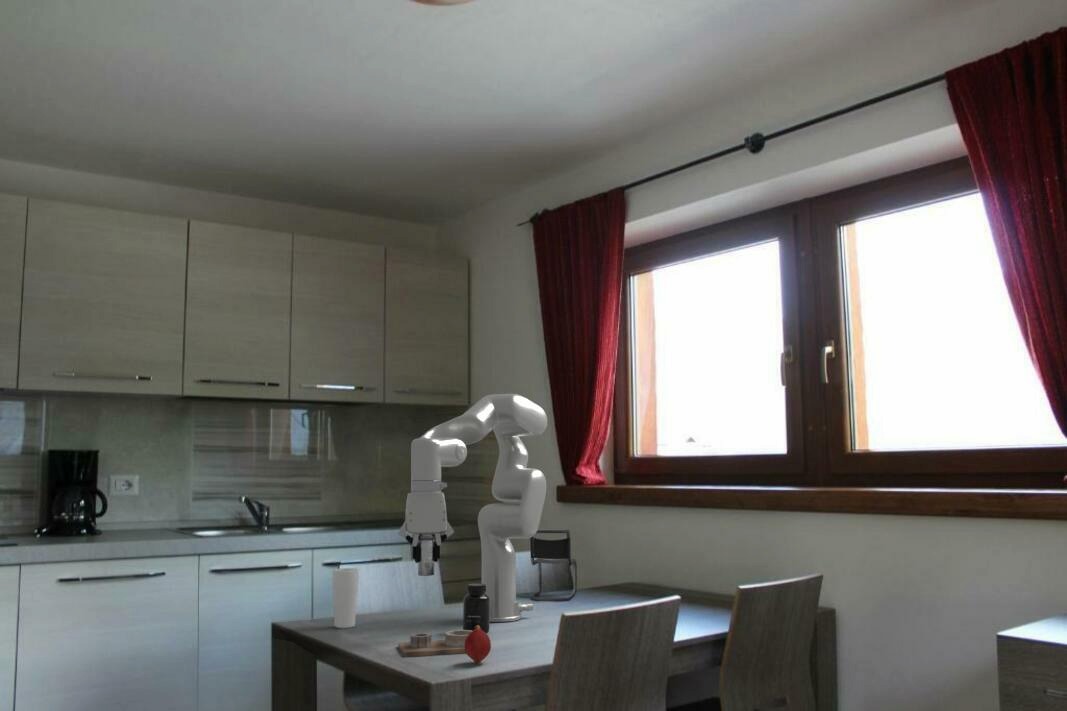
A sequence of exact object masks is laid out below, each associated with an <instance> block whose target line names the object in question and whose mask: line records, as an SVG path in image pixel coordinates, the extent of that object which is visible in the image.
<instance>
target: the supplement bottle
mask: <svg viewBox="0 0 1067 711" xmlns="http://www.w3.org/2000/svg"><path fill="white" fill-rule="evenodd" d="M466 592H467V594H466V595H465V596H464V597H463V602H462V604H463V606H462V609H463V610H462V630H471V631H473V630H474V629H475V627H476V626H480V628H481V630H483V631H484V632H485V633H486V634H488V633H489V632H490V623H491V622H490V599H489V597H488V596H487V595H486V594H485V592H486V584H482V583H469V584H467V590H466Z"/></svg>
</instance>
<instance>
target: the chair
mask: <svg viewBox="0 0 1067 711" xmlns="http://www.w3.org/2000/svg"><path fill="white" fill-rule="evenodd" d="M536 534H566V538H561V539H541V538H535V537H534V536H535V535H534V536H533V537H531V538H529V539H530V540H529V541H530V546H529V547H530V563H531V565H532V566H535V565H537V570H538V571H537V572H538V574H537V576H538V580H537V583H538V586H537V588H538V589H537V591H536V592H535V593H534V594H533V595H532V596H530V600H531V601H534V602H569V601H571V600H572V599H573V598H574V597H575V596H576V595H577V592H578V591H577V588H578V581H577V580H578V576H577V574H578V572H577V570H578V569H577V568H578V567H577V560H576V559H575V558H572V553H571V552H572V551H571V545H572V544H571V531H570V530H569V529H537V532H536ZM571 558H572V559H571ZM565 563H567V565H568V566H569V567H570V566H572V567H573V571H572V572H573V589H572V590H573V591H572V593H571V594H570V595H569V596H568V597H538V596H539V595H541V594H542V588H543V587H542V584H543V581H542V580H543V579H542V576H543V575H542V573H543V572H542V564H553V565H554V564H565Z"/></svg>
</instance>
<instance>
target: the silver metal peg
mask: <svg viewBox="0 0 1067 711" xmlns="http://www.w3.org/2000/svg"><path fill="white" fill-rule="evenodd" d="M434 539H435V535H434V534H433V533H426V534H419V537H418V546H419V562H418V563H417V575H418V576H420V577H428V576H430V577H431V576H434V575H435V562H434V542H435V540H434Z"/></svg>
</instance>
